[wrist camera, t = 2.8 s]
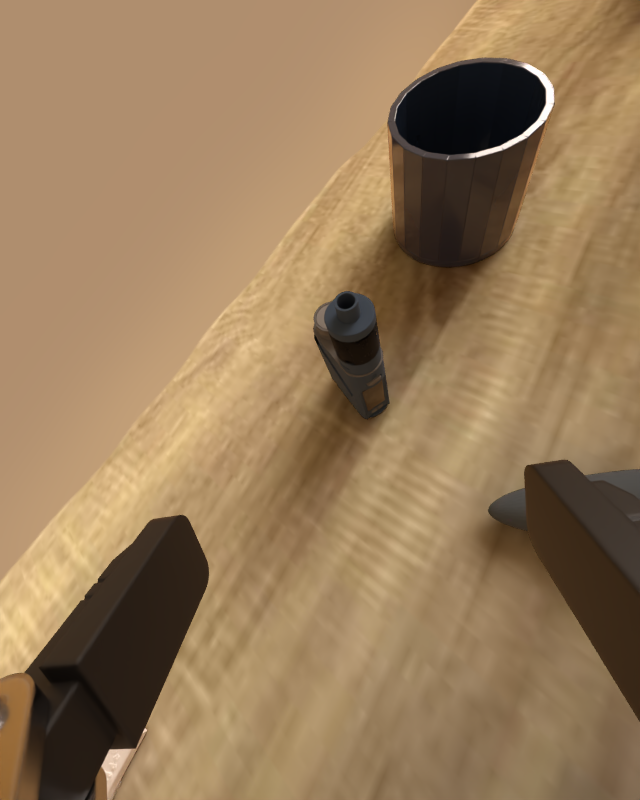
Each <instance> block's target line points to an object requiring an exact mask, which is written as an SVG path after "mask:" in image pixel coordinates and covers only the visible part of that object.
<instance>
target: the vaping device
mask: <svg viewBox="0 0 640 800" xmlns="http://www.w3.org/2000/svg"><path fill="white" fill-rule="evenodd" d="M376 321H377V320H376V313H375V308H374V305H373V303H372V302H371V300H370V299H369V298H367V297H366V296H364V295H361V294H357V293H353V292H350V291H345V292H342V293H340V294H338V295H337V296H336V298H335V299H334V300H333V301H332V302H327V303H325V304H323V305H321V306H320V307H319V308H318V309H317V310H316V312H315V314H314V323H315V324H314V328H313V329H314V338H315V341H316V343H317V345H318V347H319V350H320V352H321V354H322V356H323V359H324V361H325V363H326V365H327V368H328V370H329V372H330V374H331V377H332V379H333V380H334V381H335V382H336V383H337V385H338V387H339V388H340V389H341V390H342V392H343V393H344V394H345V396H346V397H347V398H348V399H349V401H350V402H351V403H352V405H353V406H354V407H355V409H356V410H357V411H358V412H359V414H360V415H361V416H362V417H363V418H365V419H368V418H370V417H374V416H376V415H378V414H380V413H381V412H382V411H383V410H384V409H385V408H386V406H387V404H389V397H388V390H387V382H386V375H385V368H384V361H383V351H382V349H381V347H380V342H379V334H378V327H377V322H376ZM376 332H377V335H376Z"/></svg>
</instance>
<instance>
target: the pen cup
mask: <svg viewBox="0 0 640 800" xmlns="http://www.w3.org/2000/svg"><path fill="white" fill-rule="evenodd" d="M554 104H555V103H554V87H553V85H552V84H551V82H550V81H549V79H548V78H547V76H546V75H545V74H544V73H543V72H541V71H540V70H538V69H536V68H535V67H533V66H531V65H530V64H528V63H524V62H520V61H516V60H512V59H507V58H477V59H471V60H464V61H460V62H459V61H458V62H455V63H452V64H449V65H446V66H443V67H440V68H437V69H435V70H433V71H431V72H429V73H427V74H426V75H424V76H422V77H420V78H418V79H417V80H415V81H414V82H413V83H411V84H410V85H409V86H408V87H407V88H406V89H404V90H403V91H402V92H401V93H400V94H399V96H398V97H397V99H396V100H395V102H394V103H393V105H392V106H391V108H390V113H389V118H388V142H389V161H390V180H391V198H392V217H393V227H394V235H395V238H396V241H397V243H398V245H399V246H400V248H401V249H402V250H403V251H404V252H405V253H406V254H407V255H409V256H410V257H412V258H413V259H415V260H417V261H419V262H422V263H424V264H428V265H432V266H439V267H457V266H464V265H469V264H472V263H475V262H478V261H480V260H483V259H485V258H487V257H489V256H491V255H492V254H494V253H495V252H496V251H498V250H499V249H500V248H501V247H502V246H503V245H504V244H505V243H506V242H507V241H508V239H509V238H510V236H511V235H512V232H513V230H514V227H515V224H516V222H517V220H518V217H519V214H520V211H521V208H522V204H523V201H524V198H525V195H526V192H527V189H528V186H529V183H530V179H531V176H532V173H533V170H534V167H535V164H536V161H537V158H538V155H539V151H540V148H541V145H542V142H543V139H544V136H545V133H546V130H547V127H548V123H549V120H550V117H551V114H552V111H553V108H554Z"/></svg>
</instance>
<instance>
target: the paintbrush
mask: <svg viewBox="0 0 640 800" xmlns="http://www.w3.org/2000/svg"><path fill="white" fill-rule="evenodd" d="M585 476H586V477H587V478H588V479H589V480H590V481H599V480H604V481H606V482H608V483H611V484H613V485H615V486H617V487H619V488H621V489H623V490H625V491H627V492H629V493H631V494H633V495H635V496H636V497H637V498H638V499H639V500H640V469H635V470H623V471H614V472H606V473H598V474H591V475H585ZM488 512H489V514H490V515H491V516H492V517H493V518H494V519H496V520H498V521H500V522H501V523H504V524H506V525H509V526H512V527H515V528H519V529H522V530H526V531H528V529H527V522H526V501H525V488H523V489H520V490H517V491H514V492H511V493H509V494H507V495H504V496H502V497H501V498H499V499H497V500H496V501H494V502H493V503H492V504H491V505H490V506H489V509H488Z"/></svg>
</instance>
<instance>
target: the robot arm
mask: <svg viewBox="0 0 640 800" xmlns="http://www.w3.org/2000/svg"><path fill="white" fill-rule="evenodd" d="M524 478H525V501H526V522H527V529H528V533H529V536H530V540H531V542H532V545H533V547H534V549H535V551H536V553H537V555H538V556H539V558H540V560H541V561H542V563H543V565H544V566H545V568H546V569H547V571H548V573H549V574H550V576H551V578H552V579H553V581H554V583H555V584H556V586H557V587H558V589H559V591H560V592H561V594H562V596H563V597H564V599H565V600H566V602H567V604H568V605H569V607H570V609H571V610H572V612H573V614H574V615H575V617H576V618H577V620H578V622H579V623H580V625H581V627H582V628H583V630H584V632H585V633H586V635H587V636H588V638H589V640H590V641H591V643H592V645H593V646H594V648H595V649H596V651H597V653H598V654H599V656H600V658H601V659H602V661H603V663H604V664H605V666H606V667H607V669H608V671H609V672H610V674H611V676H612V677H613V679H614V680H615V682H616V684H617V685H618V687H619V689H620V690H621V692H622V694H623V695H624V697H625V698H626V700H627V702H628V703H629V705H630V707H631V708H632V710H633V712H634V713H635V715H636V716H637V718H638V720H639V721H640V500H639V499H638V498H637V497H636V496H635V495H633V494H631V493H629V492H627V491H625V490H623V489H621V488H619V487H617V486H615V485H613V484H611V483H608V482H606V481H604V480H599V481H590V480H589V479H588V478H587V477H586V476H585V475H584V474H583V473H582V472H580V471H579V470H578V469H577V468H576V467H575V466H574V465H573V464H572V463H571V462H570V461H568V460H559V461H552V462H546V463H539V464H532V465H527V466H526V467H525V472H524ZM208 578H209V567H208V562H207V559H206V557H205V555H204V553H203V550H202V548H201V546H200V544H199V541H198V539H197V537H196V535H195V533H194V530H193V528H192V526H191V524H190V522H189V520H188V518H187V517H186V516H184V515H178V516H171V517H164V518H157V519H153V520H151V521H150V522H149V523H148V524H147V525H146V526H145V528H144V529H143V530H142V532H141V533H140V534H139V535H138V537H137V538H136V539H135V541H134V542H133V543H132V544H131V545H130V546H129V547H128V548H126V549H125V550H124V551H123V552H122V553H121V554H119V555H118V556H117V557H116V558H115V559H114V560H113V561H112V562H111V563H110V564H109V566H108V567H107V568H106V569H105V571H104V572H103V573H102V575H101V576H100V577H99V578H98V583H95V584H94V585H93V586H92V587H91V589H90V590H89V591H88V592H87V594H86V595H85V599H84V600H82V601H80V603H79V604H78V605H77V607H76V608H75V609H74V610H73V612H72V613H71V614H70V615H69V617H68V618H67V619H66V621H65V622H64V623H63V624H62V626H61V627H60V628H59V629H58V631H57V632H56V633H55V635H54V636H53V637H52V638H51V640H50V641H49V642H48V644H47V645H46V646H45V647H44V649H43V650H42V651H41V652H40V654H39V655H38V656H37V658H36V659H35V660H34V661H33V663H32V664H31V665H30V666H29V668H28V669H27V670H26V671H25V673H16V674H12V675H9V676H6V677H4V678H1V679H0V800H107V779H106V774H105V771H104V769H103V768H102V767H101V766H102V764H103V762H104V760H105V758H106V756H107V754H108V752H109V750H111V749H136V747H137V745H138V742H139V740H140V738H141V736H142V733H143V731H144V729H145V726H146V724H147V722H148V720H149V717H150V715H151V713H152V710H153V708H154V706H155V704H156V701H157V699H158V697H159V695H160V692H161V690H162V688H163V685H164V683H165V681H166V679H167V676H168V674H169V672H170V669H171V667H172V665H173V663H174V660H175V658H176V656H177V654H178V651H179V649H180V647H181V644H182V642H183V640H184V638H185V635H186V633H187V631H188V628H189V626H190V624H191V622H192V619H193V617H194V615H195V613H196V610H197V608H198V606H199V603H200V601H201V599H202V597H203V594H204V592H205V590H206V587H207V584H208Z"/></svg>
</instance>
